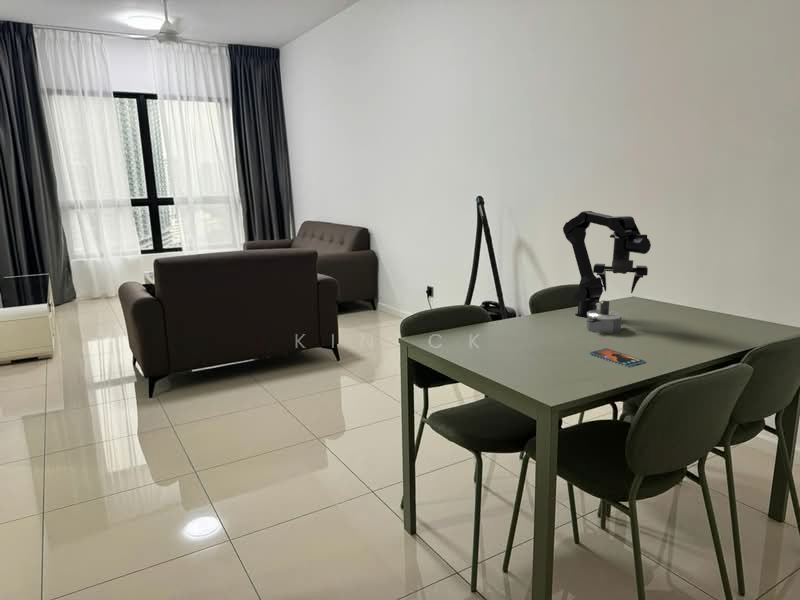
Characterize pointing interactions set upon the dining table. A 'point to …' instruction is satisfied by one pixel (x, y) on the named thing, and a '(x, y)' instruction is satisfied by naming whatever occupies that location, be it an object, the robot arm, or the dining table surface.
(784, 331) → the dining table surface
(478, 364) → the dining table surface
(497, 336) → the dining table surface
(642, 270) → the robot arm
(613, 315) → the lid
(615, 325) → the pot
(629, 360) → the smartphone
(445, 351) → the dining table surface
